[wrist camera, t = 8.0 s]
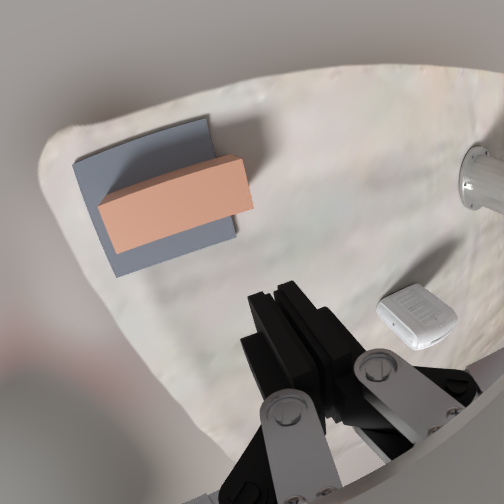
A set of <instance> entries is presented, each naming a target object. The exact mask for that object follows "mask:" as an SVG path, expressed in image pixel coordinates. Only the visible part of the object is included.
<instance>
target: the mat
mask: <svg viewBox="0 0 504 504" xmlns="http://www.w3.org/2000/svg"><path fill="white" fill-rule="evenodd" d="M214 158H216V156H215V153H214V149H213V145H212V141H211V137H210V133H209V129H208V125H207V121H206V118H204V119H200V120H197V121H193V122H190V123H186V124H183V125H179V126H176V127H173V128H169V129H166V130H163V131H160V132H157V133H154V134H151V135H148V136H145V137H142V138H139V139H136V140H133V141H130V142H127V143H125V144H122V145H119V146H117V147H114V148H111V149H109V150H106V151H104V152H101V153H99V154H96V155H94V156H91V157H89V158H86V159H84V160H82V161H79V162H77V163H75V164H73V165H72V166H73V169H74V172H75V175H76V178H77V181H78V184H79V187H80V190H81V193H82V196H83V198H84V201H85V204H86V207H87V209H88V212H89V215H90V217H91V220H92V222H93V225H94V227H95V230H96V232H97V235H98V237H99V240H100V242H101V244H102V247H103V249H104V251H105V254H106V256H107V258H108V260H109V263H110V265H111V267H112V269H113V271H114V274H115V276H116V278H118V277H120V276H123V275H126V274H129V273H132V272H135V271H138V270H141V269H143V268H146V267H149V266H152V265H155V264H158V263H161V262H164V261H167V260H170V259H173V258H176V257H178V256H181V255H184V254H187V253H190V252H193V251H196V250H199V249H202V248H205V247H208V246H211V245H214V244H217V243H220V242H223V241H226V240H229V239H232V238H235V237H236V233H235V229H234V225H233V222H232V218H231V216H228V217H225V218H222V219H218V220H215V221H212V222H209V223H206V224H203V225H200V226H197V227H194V228H191V229H188V230H185V231H182V232H179V233H176V234H173V235H170V236H167V237H164V238H161V239H158V240H156V241H153V242H150V243H147V244H144V245H141V246H138V247H136V248H133V249H130V250H127V251H124V252H122V253H119V254H116V252H115V249H114V247H113V245H112V242H111V240H110V237H109V235H108V232H107V230H106V227H105V225H104V222H103V220H102V217H101V214H100V212H99V209H98V205H99V204H100V203H101V201H102V200H103V199H104V197H105V196H106V195H107V194H110V193H112V192H115V191H118V190H120V189H123V188H126V187H128V186H131V185H134V184H137V183H139V182H142V181H145V180H148V179H151V178H154V177H157V176H160V175H163V174H166V173H169V172H172V171H175V170H178V169H181V168H184V167H188V166H191V165H194V164H197V163H201V162H204V161H207V160H211V159H214Z"/></svg>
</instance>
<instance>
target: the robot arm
mask: <svg viewBox="0 0 504 504" xmlns="http://www.w3.org/2000/svg"><path fill="white" fill-rule="evenodd" d="M459 189H460V196H461V199H462V202H463V204H464V205H465V206H466V207H467V208H468V209H471V210H478V209H480V208H481V207H482V206H484V207H486V208H489V209H491V210H493V211H496V212H498V213H500V214H503V215H504V161H503V160H499V159H496V158H492V157H491V156H490V153H489V152H488V150H487V149H486V148H484V147H481V146H475V147H473V148H471V149H470V150H469V152H468V153H467V155H466V156H465V159H464V161H463V164H462V167H461V172H460V179H459ZM274 298H275V300H274V299H273V297H272V296H271V294H270V293H268V294H264V293H263V292H259V293H256V294H253V295H250V296H248V302H249V305H250V309H251V312H252V316H253V319H254V323H255V326H256V330H257V333H255V334H252V335H250V336H247V337H244V338H241V339H240V341H241V344H242V347H243V350H244V352H245V355H246V358H247V361H248V363H249V366H250V368H251V371H252V373H253V376H254V378H255V381H256V383H257V385H258V388H259V390H260V392H261V395H262V397H263V399H264V402H263V403H262V405H261V408H260V420H261V425H260V427H259V429H258V430H257V432H256V434H255V435H254V437H253V438H252V440H251V442H250V443H249V445H248V446H247V448H246V450H245V451H244V453H243V454H242V456H241V457H240V459H239V461H238V462H237V464H236V465H235V467H234V468H233V470H232V471H231V473H230V474H229V476H228V477H227V479H226V480H225V482H224V483H223V485H222V486H221V488H220V490H218V491H216V492H213V493H211V494H209V495H207V494H204V495H201V496H199V497H197V498H195V499H193V500H190V501H188V502H185V503H183V504H504V348H501V349H499V350H498V351H496V352H494V353H492V354H490V355H488V356H486V357H484V358H482V359H480V360H478V361H476V362H474V363H472V364H470V365H468V366H466V368H465V370H463V371H462V370H456V369H442V368H429V367H418V366H412V365H410V364H409V363H408V362H406V361H405V360H404V359H402V358H401V357H400V356H399V355H397V354H396V353H394V352H392V351H391V350H387V349H372V350H368V351H366V350H365V349H364V348H363V347H362V346H361V345H360V343H359V342H358V341H357V340H356V339H355V338H354V337H353V335H352V334H351V333H350V332H349V331H348V330H347V329H346V327H345V326H344V325H343V324H342V323H341V322H340V321H339V319H338V318H337V317H336V316H335V315H334V314H333V313H332V311H331V310H330V309H329V308H328V307H322V308H320V309H316V307H315V306H314V305H313V304H312V303H311V301H310V300H309V299H308V298H307V297H306V295H305V294H304V293H303V292H302V291H301V289H300V288H299V287H298V286H297V285H296V283H295V282H294V281H289V282H286V283H284V284H281V285H278V290H276V291H274ZM325 417H326V418H327V419H328V418H330V417H332V418H333V420H334V421H335V423H339V422H341V421H342V422H343V424H344V425H348V426H352V427H353V429H354V431H355V432H356V433H357V434H358V435H359V436H360V437H361V438H362V439H363V440H364V441H365V443H366V444H367V445H368V446H369V447H370V448H371V449H372V450H373V451H374V452H375V453H376V454H377V455H378V456H379V457H380V458H381V459H382V460H383V461H384V462H385V463H386V465H384V466H382V467H381V468H379V469H377V470H375V471H373V472H372V473H370V474H368V475H366V476H364V477H362V478H360V479H358V480H357V481H354V482H352V483H350V484H348V485H346V486H344V487H342V484H341V481H340V478H339V475H338V472H337V469H336V466H335V463H334V461H333V458H332V455H331V452H330V449H329V446H328V443H327V441H326V438H325V435H326V424H325Z"/></svg>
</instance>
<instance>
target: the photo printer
mask: <svg viewBox="0 0 504 504" xmlns="http://www.w3.org/2000/svg"><path fill="white" fill-rule="evenodd" d="M376 311H377V314H378V315H379V317H380V318H381V320H382V321H383V322H384V323H385V324H386V325H387V326H388V327H390V328H391V329H392V330H393V331H394V332H395V333H396V334H397V335H398V336H399V337H400V338H401V339H402V340H403V341H404V342H405V343H406V344H407V345H408V346H409V347H410V348H411V349H413V350H421V349H424V348H427V347H430V346H432V345H434V344H436V343H438V342H440V341H441V340H443V339H444V338H445V337H446V336H447V335H449V334H450V332H451V331H452V330H453V329H454V327H455V326H456V322H457V320H458V319H457V315H456V313H455V312H454V310H453V309H452V308H451V307H449V306H448V305H447V304H445V303H444V302H443V301H441V300H440V299H439V298H437V297H436V296H435V295H433V294H432V293H431V292H429V291H428V290H427V289H425V288H424V287H423V286H422V285H420V284H418V283H417V284H413V285H411V286H409V287H406V288H404V289H402V290H400V291H398V292H396V293H394V294H391V295H389V296H387V297H385V298H384V299H382V300H381V301H380V302H379V303H378V305H377V309H376Z"/></svg>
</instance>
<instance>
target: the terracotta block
mask: <svg viewBox="0 0 504 504" xmlns="http://www.w3.org/2000/svg"><path fill="white" fill-rule="evenodd" d="M253 208H254V207H253V202H252V198H251V194H250V189H249V185H248V181H247V177H246V172H245V168H244V164H243V160H242V158H239V157H237V156H234V155H232V154H229V155H225V156H221V157H218V158H214V159H211V160H207V161H204V162H201V163H197V164H194V165H191V166H188V167H184V168H181V169H178V170H175V171H172V172H169V173H166V174H163V175H160V176H157V177H154V178H151V179H148V180H145V181H142V182H139V183H137V184H134V185H131V186H128V187H126V188H123V189H120V190H118V191H115V192H112V193H110V194H107V195H106V196H105V197H104V199H103V200H102V201H101V203H100V204H99V205H98V209H99V212H100V214H101V217H102V220H103V222H104V225H105V227H106V230H107V232H108V235H109V237H110V240H111V242H112V245H113V247H114V249H115V252H116V254H119V253H122V252H124V251H127V250H130V249H133V248H136V247H138V246H141V245H144V244H147V243H150V242H153V241H156V240H158V239H161V238H164V237H167V236H170V235H173V234H176V233H179V232H182V231H185V230H188V229H191V228H194V227H197V226H200V225H203V224H206V223H209V222H212V221H215V220H218V219H222V218H225V217H228V216H231V215H234V214H237V213H240V212H244V211H247V210H250V209H253Z"/></svg>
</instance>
